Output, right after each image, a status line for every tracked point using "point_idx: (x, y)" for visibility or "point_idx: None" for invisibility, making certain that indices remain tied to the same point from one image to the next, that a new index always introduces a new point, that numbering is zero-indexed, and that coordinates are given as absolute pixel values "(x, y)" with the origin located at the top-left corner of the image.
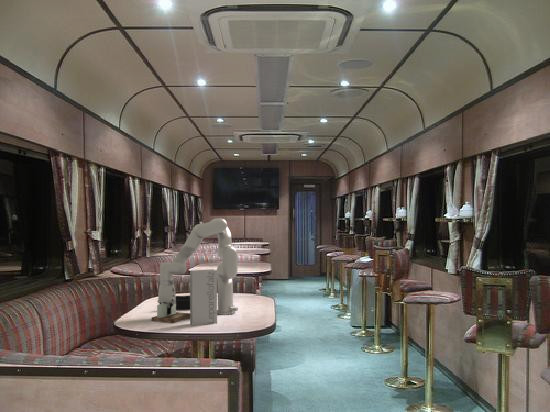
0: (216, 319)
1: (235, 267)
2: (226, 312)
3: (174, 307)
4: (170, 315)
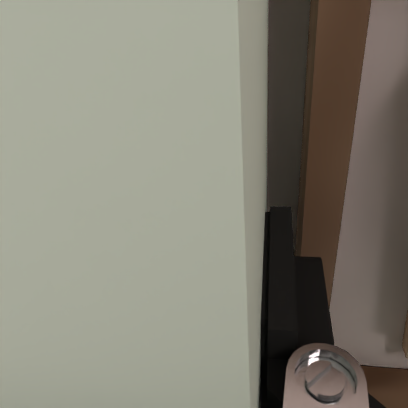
0: None
1: None
2: None
3: (260, 71)
4: (327, 254)
